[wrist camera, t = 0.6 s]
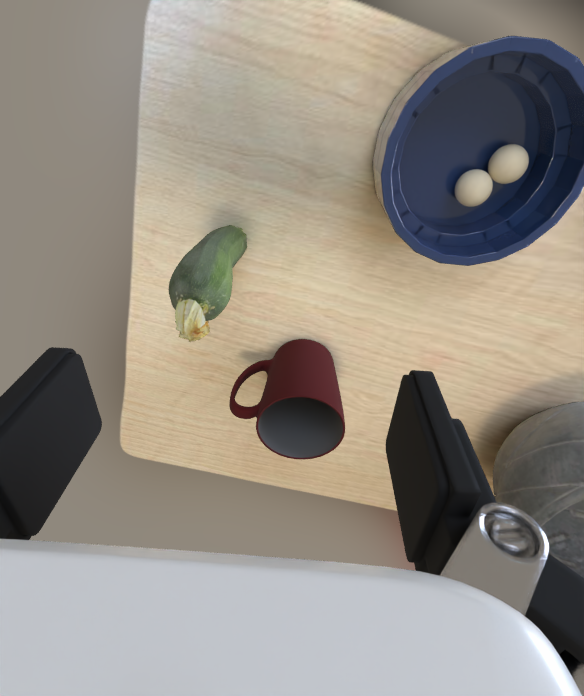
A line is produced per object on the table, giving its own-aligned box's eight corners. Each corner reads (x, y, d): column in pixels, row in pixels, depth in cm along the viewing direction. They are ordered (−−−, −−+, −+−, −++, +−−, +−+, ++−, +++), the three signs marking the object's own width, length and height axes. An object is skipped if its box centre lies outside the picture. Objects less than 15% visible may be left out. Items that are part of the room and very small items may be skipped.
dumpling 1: (470, 214, 36) (467, 182, 36) (502, 200, 34) (497, 166, 34) (449, 209, 35) (445, 176, 35) (480, 194, 32) (476, 159, 32)
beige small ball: (496, 134, 32) (477, 169, 33) (533, 139, 31) (512, 176, 31) (503, 153, 35) (485, 186, 35) (538, 159, 33) (519, 193, 34)
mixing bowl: (361, 75, 32) (370, 74, 27) (572, 17, 29) (624, 4, 24) (381, 255, 40) (391, 280, 35) (546, 223, 38) (581, 244, 33)
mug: (237, 379, 50) (220, 446, 41) (247, 321, 45) (230, 382, 36) (329, 397, 51) (332, 465, 42) (348, 341, 46) (356, 405, 37)
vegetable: (208, 244, 41) (134, 357, 24) (213, 202, 38) (135, 295, 22) (250, 255, 41) (206, 373, 24) (258, 214, 39) (215, 314, 22)
